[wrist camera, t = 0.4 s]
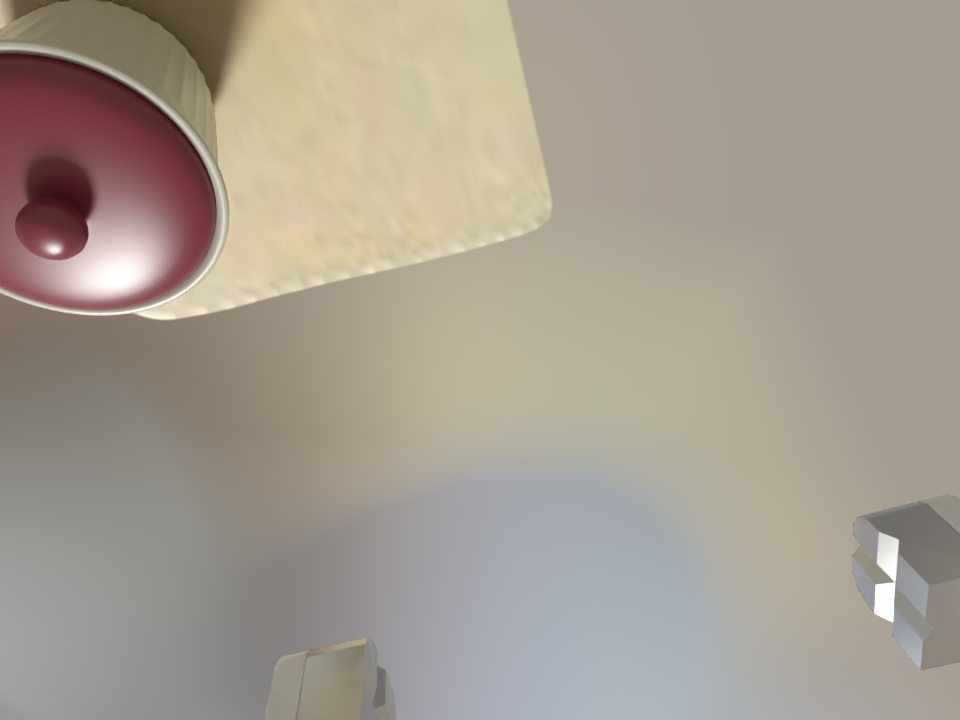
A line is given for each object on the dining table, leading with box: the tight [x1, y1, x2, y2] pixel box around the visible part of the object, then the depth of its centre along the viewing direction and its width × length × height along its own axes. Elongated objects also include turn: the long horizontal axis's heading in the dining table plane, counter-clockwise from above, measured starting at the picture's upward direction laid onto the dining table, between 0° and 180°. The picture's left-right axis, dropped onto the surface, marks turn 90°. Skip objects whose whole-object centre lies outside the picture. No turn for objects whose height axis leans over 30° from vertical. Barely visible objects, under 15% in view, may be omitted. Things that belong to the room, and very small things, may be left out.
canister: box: [0, 0, 229, 315], centre depth 45 cm, size 18×18×21 cm
